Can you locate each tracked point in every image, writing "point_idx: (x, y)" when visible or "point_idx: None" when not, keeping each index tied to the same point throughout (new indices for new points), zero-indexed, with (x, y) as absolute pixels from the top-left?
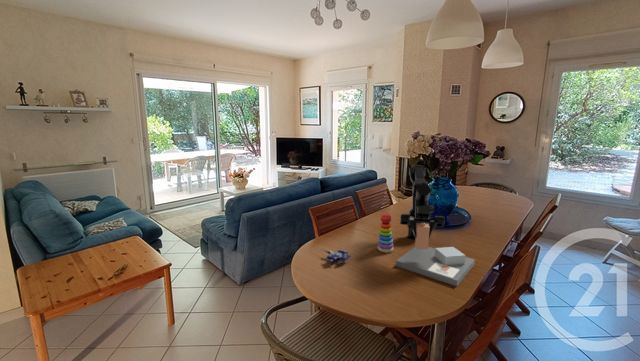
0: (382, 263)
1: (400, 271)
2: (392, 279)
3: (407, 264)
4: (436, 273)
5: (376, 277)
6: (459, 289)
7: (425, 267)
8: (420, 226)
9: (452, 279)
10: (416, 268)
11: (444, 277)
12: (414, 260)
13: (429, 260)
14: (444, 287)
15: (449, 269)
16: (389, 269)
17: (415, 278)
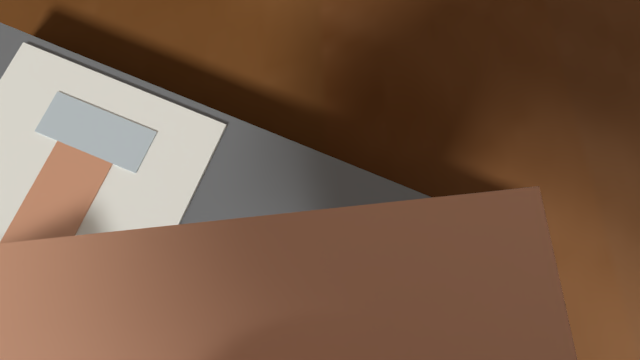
0: (622, 251)
1: (449, 151)
2: (487, 14)
3: (411, 189)
4: (152, 89)
5: (600, 8)
6: (14, 14)
7: (244, 177)
8: (377, 293)
9: (30, 35)
10: (325, 156)
11: (93, 63)
12: None
13: None
14: (119, 11)
15: (16, 194)
16: (540, 158)
17: (325, 75)
